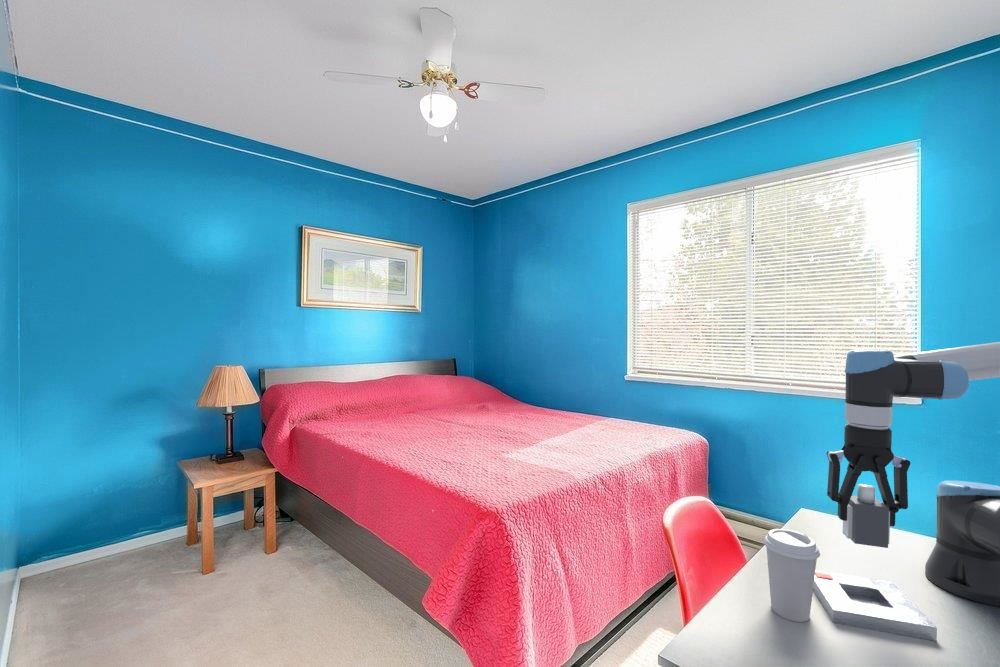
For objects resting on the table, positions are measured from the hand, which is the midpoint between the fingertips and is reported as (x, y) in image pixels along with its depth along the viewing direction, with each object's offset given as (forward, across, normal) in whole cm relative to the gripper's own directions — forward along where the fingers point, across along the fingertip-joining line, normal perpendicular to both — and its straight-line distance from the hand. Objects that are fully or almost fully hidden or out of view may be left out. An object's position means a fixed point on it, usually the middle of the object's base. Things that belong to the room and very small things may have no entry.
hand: (865, 538), depth 93 cm
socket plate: (+14, 0, 0) cm, 14 cm away
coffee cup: (+14, +15, +7) cm, 22 cm away
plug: (0, 0, 0) cm, 0 cm away
